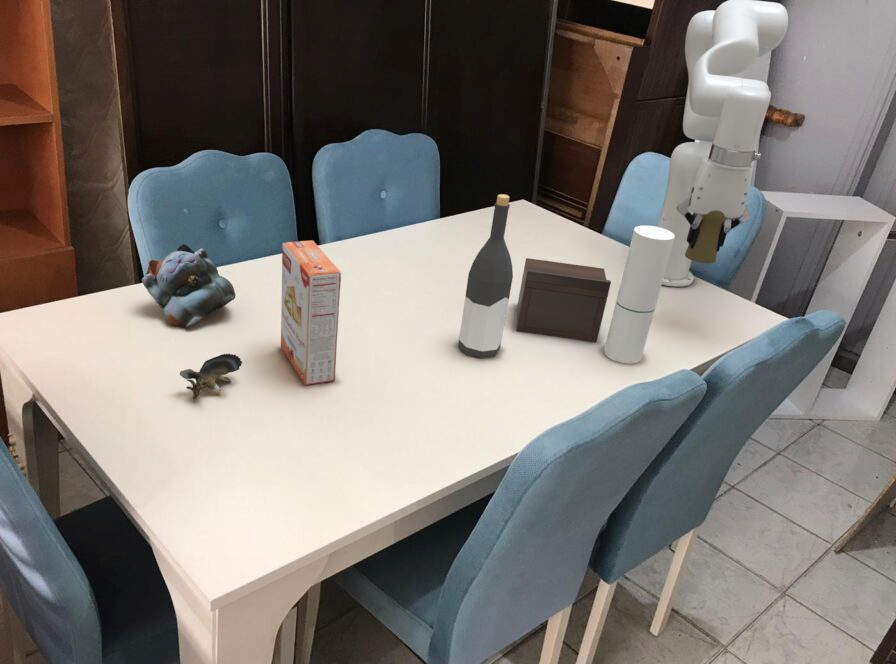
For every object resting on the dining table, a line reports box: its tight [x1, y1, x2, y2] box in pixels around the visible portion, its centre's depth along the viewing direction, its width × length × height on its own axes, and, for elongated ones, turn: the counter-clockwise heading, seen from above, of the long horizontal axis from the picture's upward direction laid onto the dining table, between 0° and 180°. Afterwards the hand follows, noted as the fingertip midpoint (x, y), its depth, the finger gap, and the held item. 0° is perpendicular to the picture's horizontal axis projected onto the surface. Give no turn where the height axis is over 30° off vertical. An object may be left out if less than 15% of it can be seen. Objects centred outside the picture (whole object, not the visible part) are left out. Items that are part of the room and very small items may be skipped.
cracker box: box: [280, 239, 342, 386], centre depth 144 cm, size 14×6×21 cm, turn 23°
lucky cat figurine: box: [141, 243, 237, 329], centre depth 161 cm, size 15×12×14 cm
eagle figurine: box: [179, 353, 243, 401], centre depth 138 cm, size 8×7×9 cm
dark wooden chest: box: [515, 257, 612, 343], centre depth 170 cm, size 12×16×13 cm
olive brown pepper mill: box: [685, 211, 726, 264], centre depth 165 cm, size 6×6×11 cm
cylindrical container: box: [603, 224, 675, 365], centre depth 157 cm, size 7×7×25 cm
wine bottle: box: [458, 193, 514, 359], centre depth 153 cm, size 8×8×30 cm
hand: (703, 246), depth 167 cm, fingers closed on olive brown pepper mill, 4 cm apart
